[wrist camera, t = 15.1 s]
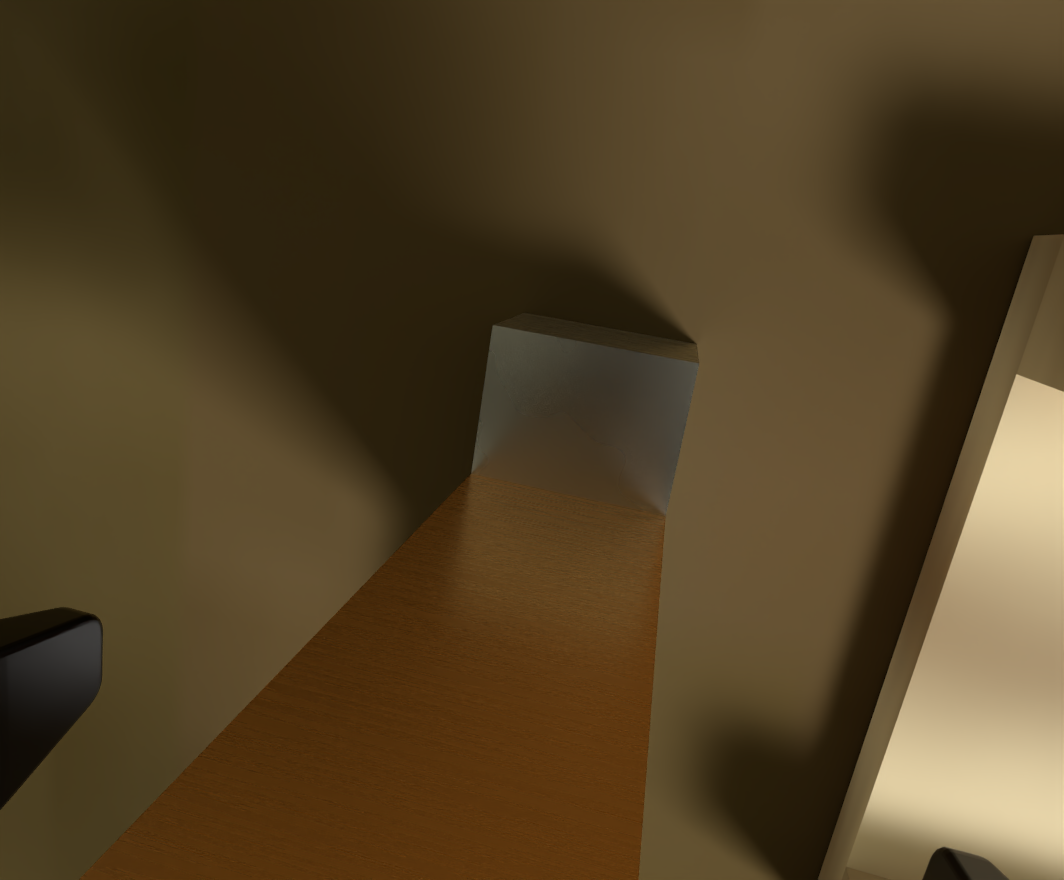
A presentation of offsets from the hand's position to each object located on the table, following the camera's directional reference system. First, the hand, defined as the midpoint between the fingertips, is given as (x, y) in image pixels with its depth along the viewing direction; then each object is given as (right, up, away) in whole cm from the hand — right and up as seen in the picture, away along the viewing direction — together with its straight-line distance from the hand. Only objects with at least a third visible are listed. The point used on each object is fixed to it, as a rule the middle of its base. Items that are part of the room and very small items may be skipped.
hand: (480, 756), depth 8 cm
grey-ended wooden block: (+1, +2, +6) cm, 7 cm away
